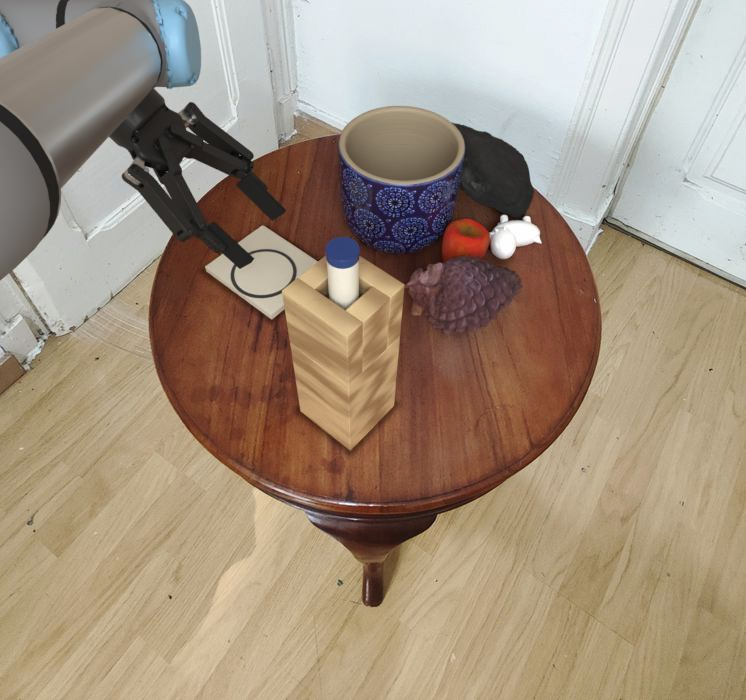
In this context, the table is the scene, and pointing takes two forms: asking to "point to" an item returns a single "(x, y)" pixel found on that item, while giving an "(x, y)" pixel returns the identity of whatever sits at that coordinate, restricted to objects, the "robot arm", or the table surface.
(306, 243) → the table surface
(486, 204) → the rock
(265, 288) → the drawing board
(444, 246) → the apple
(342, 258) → the marker
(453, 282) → the pine cone
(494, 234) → the toy creature
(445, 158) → the planter
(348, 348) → the pen block
